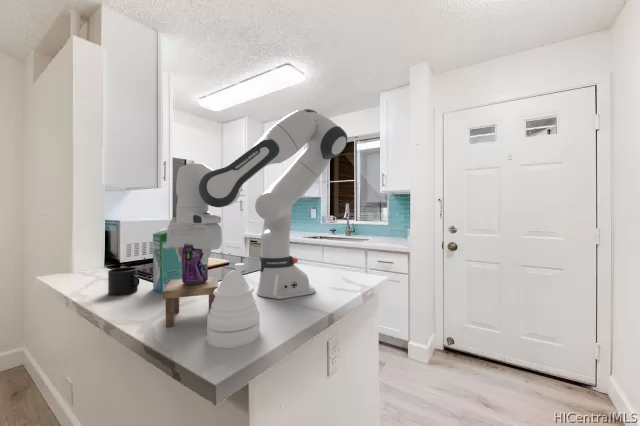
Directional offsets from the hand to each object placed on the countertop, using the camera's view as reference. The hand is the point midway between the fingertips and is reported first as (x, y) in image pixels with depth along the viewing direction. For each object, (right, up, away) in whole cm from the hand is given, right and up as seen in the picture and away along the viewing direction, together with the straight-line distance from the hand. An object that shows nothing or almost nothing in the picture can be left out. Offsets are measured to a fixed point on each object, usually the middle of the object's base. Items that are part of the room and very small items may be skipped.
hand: (193, 263), depth 85 cm
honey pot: (+16, -16, -13) cm, 27 cm away
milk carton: (-23, -16, +30) cm, 41 cm away
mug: (-38, -16, +25) cm, 48 cm away
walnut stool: (0, -16, 0) cm, 16 cm away
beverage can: (0, -6, 0) cm, 6 cm away
